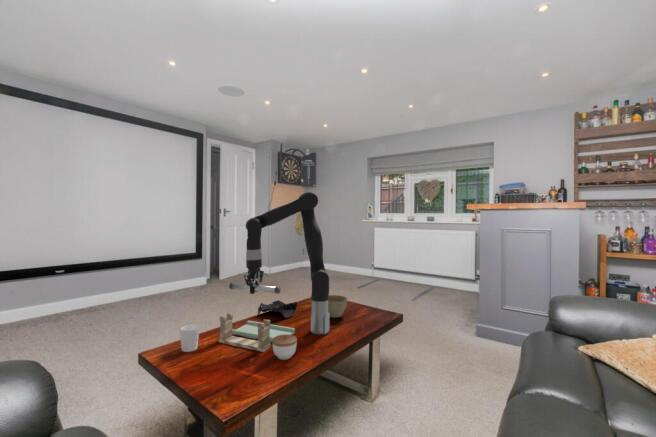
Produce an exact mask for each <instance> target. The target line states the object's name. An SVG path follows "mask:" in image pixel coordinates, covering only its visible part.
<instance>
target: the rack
mask: <svg viewBox="0 0 656 437" xmlns="http://www.w3.org/2000/svg"><path fill="white" fill-rule="evenodd" d="M233 318H234V314H232V313H226V316H223V315H222V316H219V323H220V324H219V326H220V328H219V329H220V332H219V335H220V336H219V337H220V338H219V339H218V343H222V344H224V345H230V346H234V347H238V348H244V349H249V350H252V351H256V352H261V353H265V352H266V351H267V350H268V349H270V348H271V347H272V342H270V324H271V320H270V319H265V318H264V319H263V322H260V323H257V329H258V339H257V340H256V339H251V338H246V337H241V336H236V335H233V334H232V329H233V320H234V319H233Z"/></svg>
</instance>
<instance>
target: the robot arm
mask: <svg viewBox="0 0 656 437" xmlns="http://www.w3.org/2000/svg"><path fill="white" fill-rule="evenodd" d="M318 204H319V197H318V195H317V194H316V193H314V192H311V191H307V192H304V193H302V194H300V195H299V197H298V198H297V199H295V200H293V201H291V202H289V203H287V204H286V203H285V204H284V205H281V206H277V207H275V208H273V209H271V210H268V211H266V212H264V213H263V214H259V215H256V216H254V217H251V218H249V219H247V221H246V223H245V228H246V231H247V232H246V233H247V236H246V237H247V239H246V253H245V257H246V259H245V263H246V264H245V265H246V266H245V267H246V269H248V270H247V274H244V276H243V277H244V281H245V283H246V284H247V286H250V291H249V293H250V294H251V295H254V294H255V293H258V292H259V291H255V289H254V288H255V286H254V285H260V284H261V283H262V281H263V278H264V274H265V273H264V272H265V271H264V270H261V268H262V267H263V265H262V263H263V260H262V259H263V255H262V229H264V228H266V227H269V226H272V225H274V224H275V225H276V224H278V223H279V222H281V221H283V220H285V219H287V218H289V217H291V216H293V215H296V214H298V213H300V215H301V219H302V228H303V234H304V242H305V248H306V252H307V255H308V259H309V264H310V265H309V267H310V280H311V295H310V332H311V333H312V334H314V335H326V334H328V333H329V332H330V317H329V316H330V314H329V313H328V296H329V294H330V277H329V274H328V272H327V271H326V268H325V263H324V244H323V243H324V242H323V236H322V232H321V228H320V226H319V224H318V222H317V219H316V215H315V208H316V207H317V205H318ZM259 293H260V292H259Z"/></svg>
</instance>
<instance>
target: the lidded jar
mask: <svg viewBox="0 0 656 437" xmlns="http://www.w3.org/2000/svg"><path fill="white" fill-rule="evenodd" d="M297 342H298V338H297V336H295V335H294V334H292V335H288V334H284V335H278V336H276V337H274V338H273V340H272V342H271V344H272V351H273V354H274V355H275V356H276V357H277V358H278V360H281V361H286V360H290V359H291V358H292V357H293V355H294V354H295V353H296V351H297V344H298V343H297Z"/></svg>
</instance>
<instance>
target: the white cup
mask: <svg viewBox="0 0 656 437" xmlns="http://www.w3.org/2000/svg"><path fill="white" fill-rule="evenodd" d="M199 331H200V325H198V324H187V325H184V326H181V327H180V331H179V332H180V347H181V348H180V349H181V351H182V352H185V353H189V352H194V351H196V350H197V349H198V346H199V344H198V343H199V337H200V334H199V333H200V332H199Z"/></svg>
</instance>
